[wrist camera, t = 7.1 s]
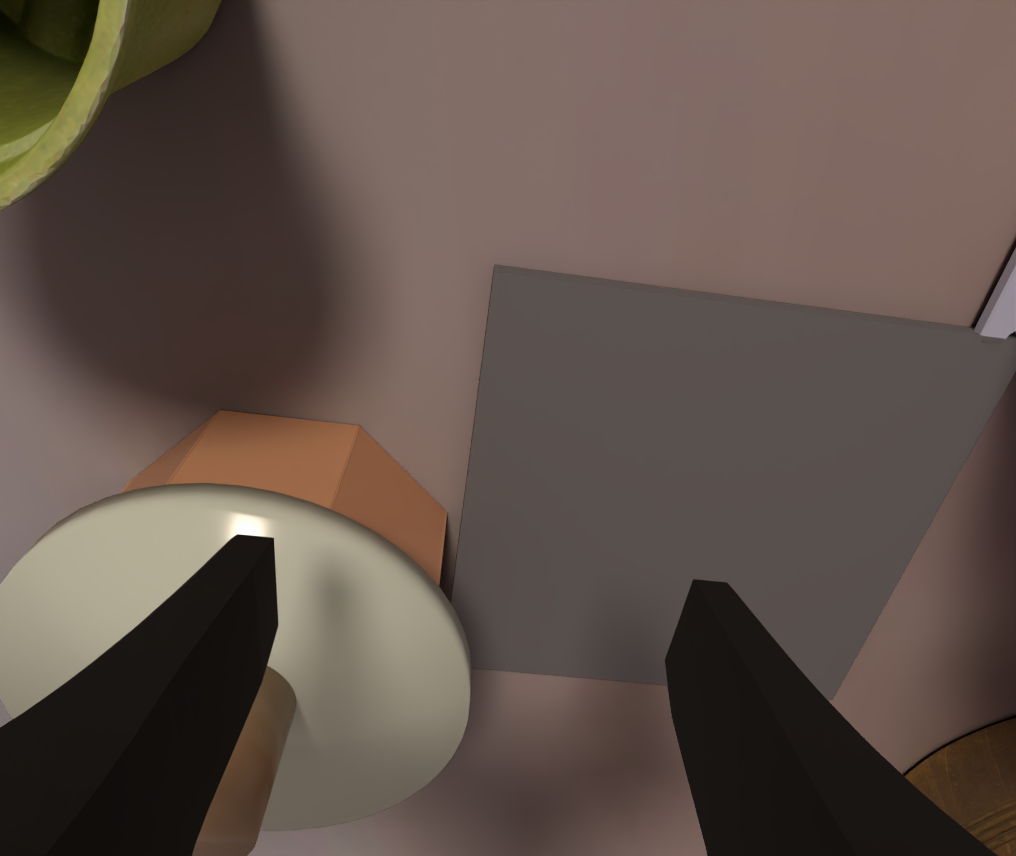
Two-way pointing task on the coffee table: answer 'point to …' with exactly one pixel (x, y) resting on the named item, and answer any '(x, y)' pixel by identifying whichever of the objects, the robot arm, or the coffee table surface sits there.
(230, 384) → the coffee table surface
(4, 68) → the plant pot
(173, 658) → the robot arm
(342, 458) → the bowl
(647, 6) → the coffee table surface
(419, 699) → the lid
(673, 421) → the mat
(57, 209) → the coffee table surface
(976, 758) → the wooden container
